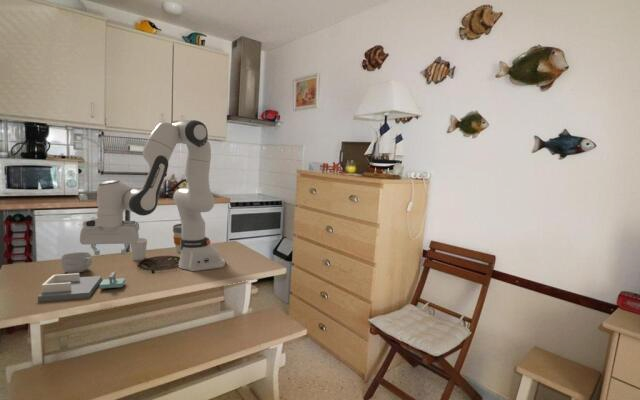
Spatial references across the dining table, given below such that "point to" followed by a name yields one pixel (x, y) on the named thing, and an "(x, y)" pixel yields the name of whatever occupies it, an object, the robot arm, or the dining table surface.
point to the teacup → (76, 262)
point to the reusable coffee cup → (177, 237)
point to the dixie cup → (139, 249)
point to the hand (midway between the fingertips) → (110, 254)
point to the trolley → (112, 282)
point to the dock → (68, 287)
